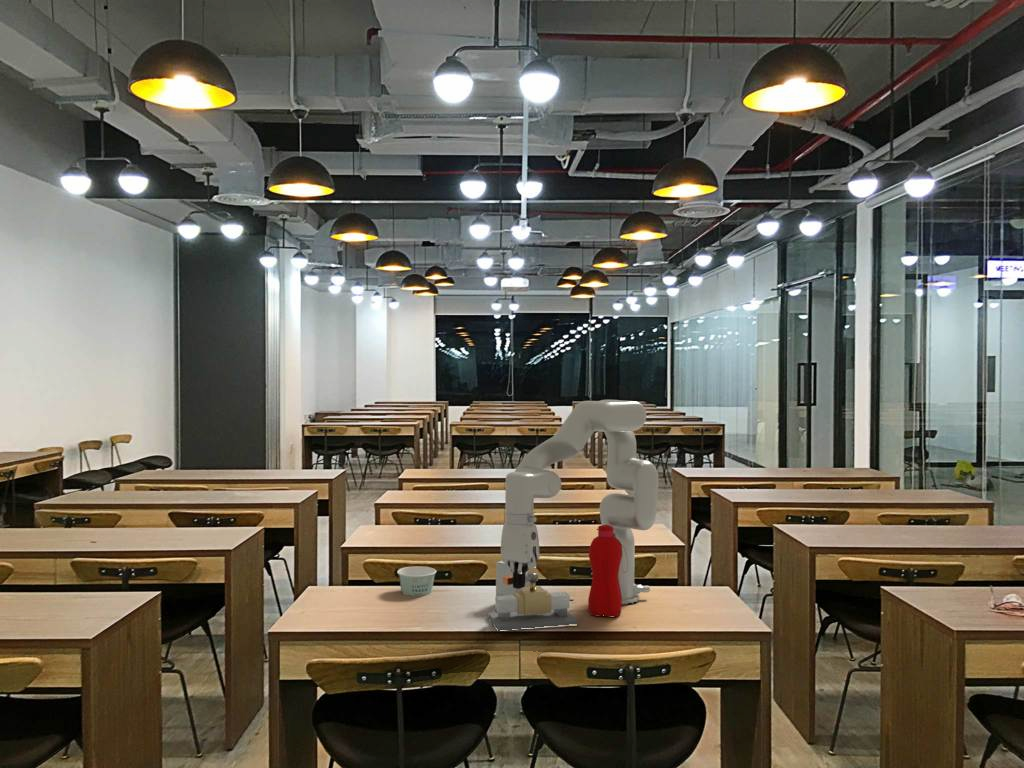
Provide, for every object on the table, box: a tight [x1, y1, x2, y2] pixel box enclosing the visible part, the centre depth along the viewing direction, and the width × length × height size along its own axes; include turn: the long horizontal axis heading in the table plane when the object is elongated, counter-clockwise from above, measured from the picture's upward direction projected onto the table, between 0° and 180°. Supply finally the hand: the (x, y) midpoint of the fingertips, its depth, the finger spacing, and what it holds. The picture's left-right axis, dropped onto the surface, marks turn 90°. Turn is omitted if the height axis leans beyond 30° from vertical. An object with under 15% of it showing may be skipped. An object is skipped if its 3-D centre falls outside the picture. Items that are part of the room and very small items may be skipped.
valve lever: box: [503, 571, 539, 585], centre depth 236 cm, size 10×3×2 cm, turn 119°
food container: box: [396, 565, 437, 597], centre depth 268 cm, size 12×12×6 cm
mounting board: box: [487, 609, 579, 632], centre depth 238 cm, size 22×12×2 cm, turn 104°
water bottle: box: [587, 524, 628, 617], centre depth 246 cm, size 9×11×25 cm
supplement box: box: [495, 560, 531, 596], centre depth 255 cm, size 7×7×13 cm
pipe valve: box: [494, 581, 571, 621], centre depth 238 cm, size 20×6×10 cm, turn 104°
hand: (518, 587), depth 232 cm, fingers closed
